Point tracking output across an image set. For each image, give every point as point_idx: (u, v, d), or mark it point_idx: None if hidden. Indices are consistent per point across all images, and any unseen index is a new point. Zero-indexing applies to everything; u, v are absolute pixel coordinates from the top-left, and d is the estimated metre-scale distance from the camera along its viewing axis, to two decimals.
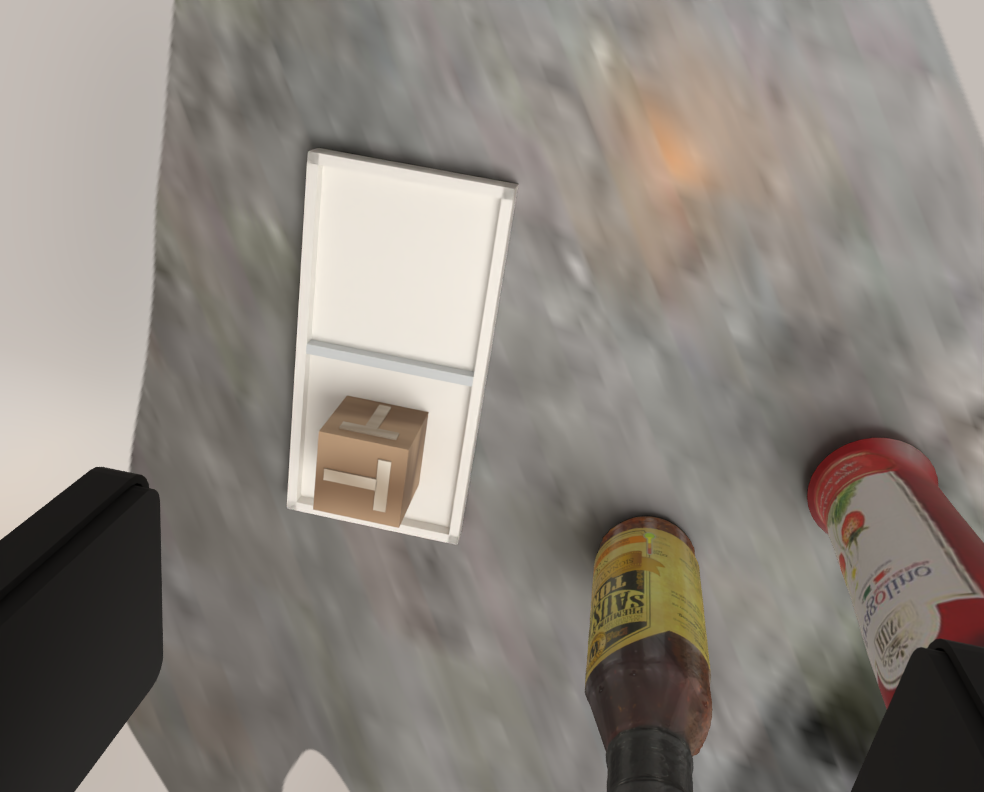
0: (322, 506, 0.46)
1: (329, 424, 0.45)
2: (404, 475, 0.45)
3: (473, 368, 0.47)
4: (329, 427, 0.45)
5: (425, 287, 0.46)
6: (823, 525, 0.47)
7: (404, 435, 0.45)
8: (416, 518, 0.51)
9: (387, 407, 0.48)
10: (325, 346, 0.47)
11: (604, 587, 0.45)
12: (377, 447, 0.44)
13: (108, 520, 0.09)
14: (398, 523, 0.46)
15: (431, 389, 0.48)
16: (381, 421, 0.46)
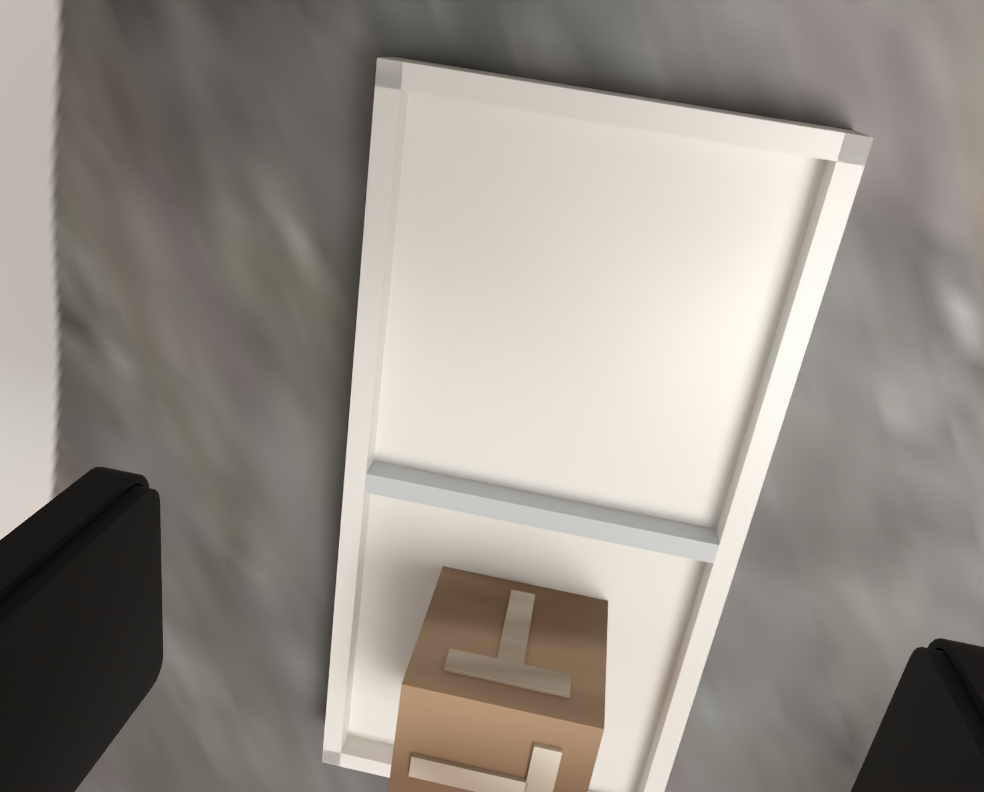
0: None
1: (421, 658, 0.21)
2: (589, 776, 0.20)
3: (711, 522, 0.23)
4: (421, 670, 0.21)
5: (623, 359, 0.21)
6: None
7: (582, 679, 0.21)
8: None
9: (528, 596, 0.24)
10: (404, 477, 0.23)
11: None
12: (533, 720, 0.20)
13: (108, 520, 0.09)
14: None
15: (617, 559, 0.24)
16: (526, 640, 0.22)
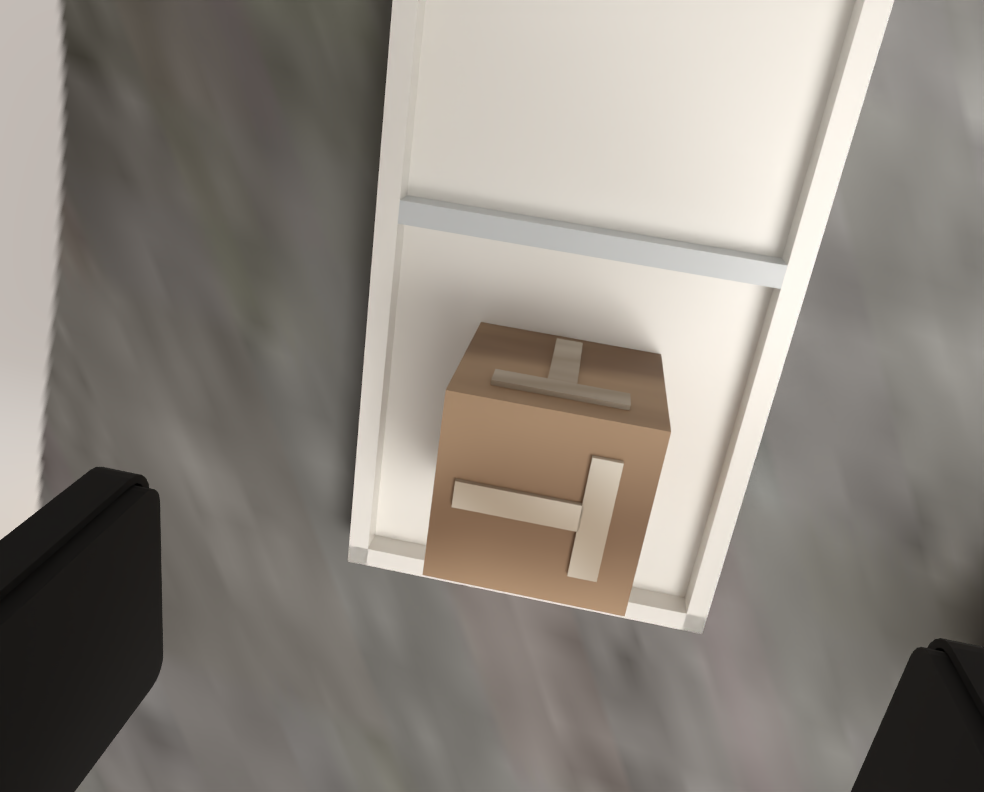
0: (445, 568, 0.20)
1: (465, 375, 0.19)
2: (652, 495, 0.18)
3: (777, 249, 0.21)
4: (466, 382, 0.19)
5: (683, 51, 0.19)
6: None
7: (641, 399, 0.19)
8: None
9: (576, 343, 0.22)
10: (442, 205, 0.21)
11: None
12: (592, 426, 0.18)
13: (108, 520, 0.09)
14: (624, 606, 0.20)
15: (672, 302, 0.22)
16: (577, 370, 0.20)
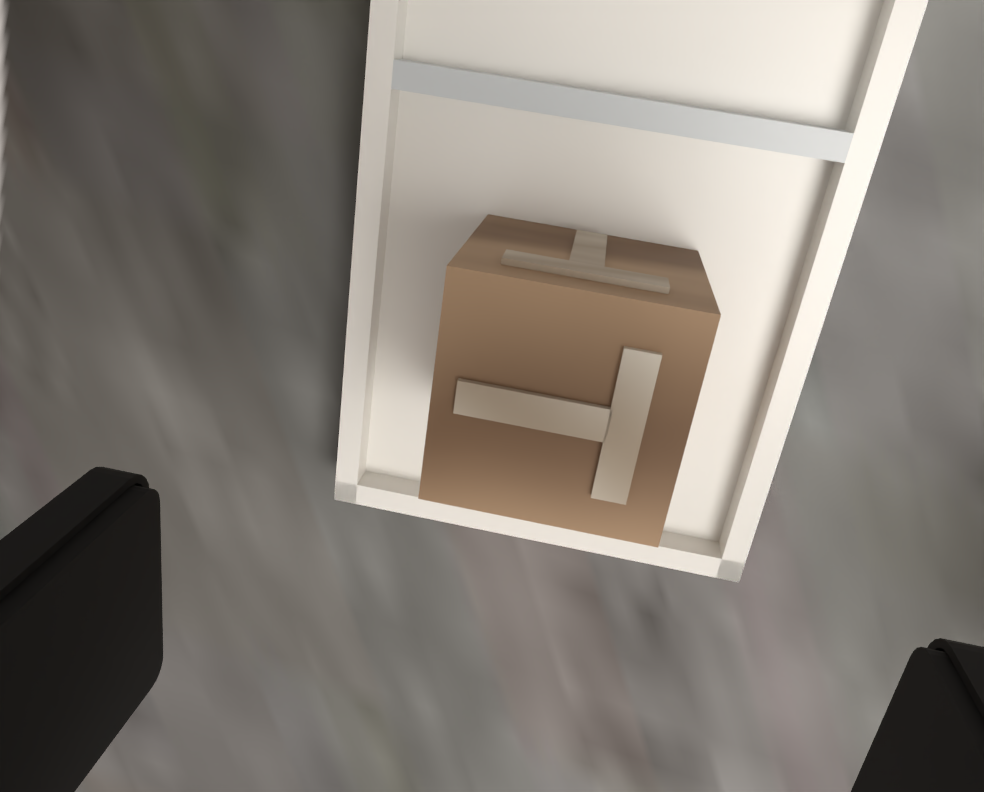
0: (445, 490, 0.17)
1: (470, 255, 0.16)
2: (696, 395, 0.15)
3: (839, 119, 0.18)
4: (471, 260, 0.15)
5: None
6: None
7: (681, 286, 0.16)
8: None
9: (599, 234, 0.19)
10: (443, 67, 0.18)
11: None
12: (624, 309, 0.15)
13: (108, 520, 0.09)
14: (658, 535, 0.17)
15: (713, 187, 0.19)
16: (604, 256, 0.17)
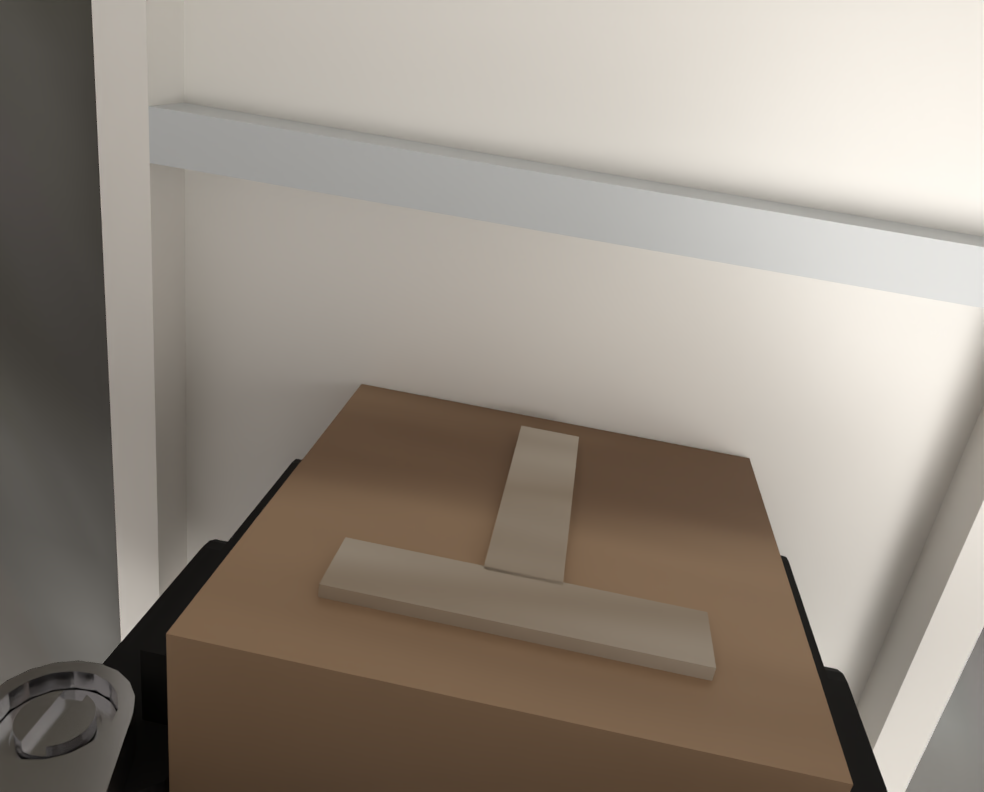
0: None
1: (255, 563, 0.07)
2: None
3: None
4: (247, 594, 0.07)
5: None
6: None
7: (736, 625, 0.07)
8: None
9: (563, 439, 0.10)
10: (250, 120, 0.09)
11: None
12: (605, 752, 0.06)
13: None
14: None
15: (781, 347, 0.10)
16: (566, 526, 0.08)
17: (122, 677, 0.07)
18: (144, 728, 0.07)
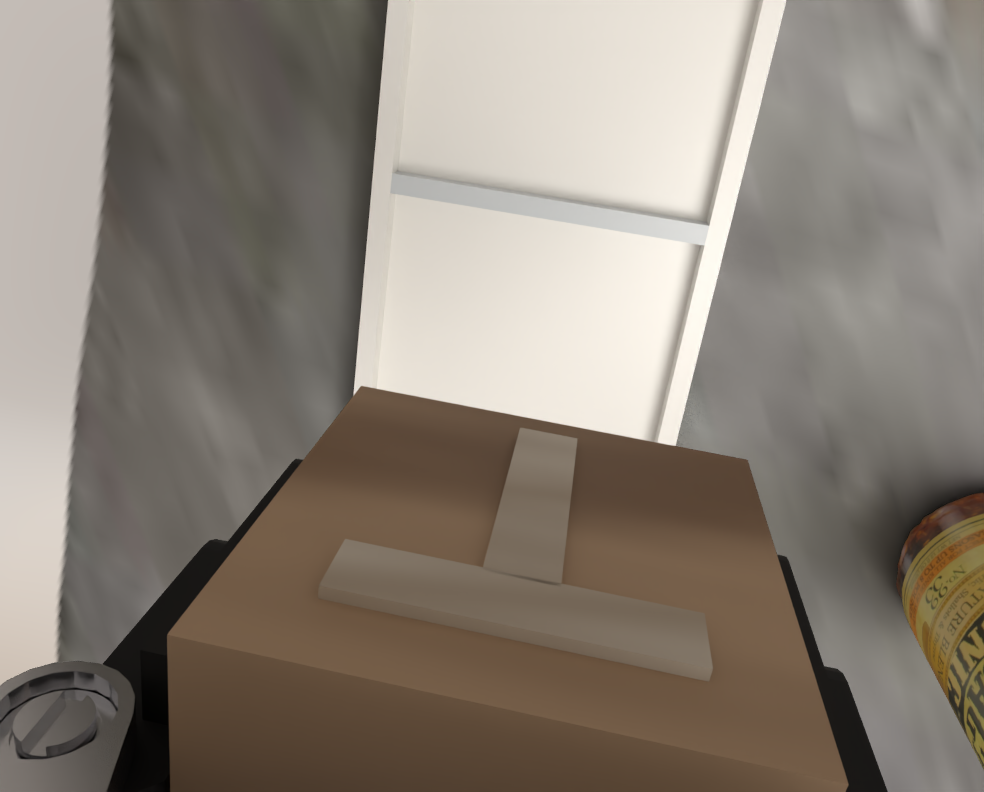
0: None
1: (255, 565, 0.07)
2: None
3: (702, 214, 0.25)
4: (248, 595, 0.07)
5: (622, 51, 0.24)
6: None
7: (734, 627, 0.07)
8: None
9: (562, 441, 0.10)
10: (426, 178, 0.25)
11: None
12: (602, 753, 0.06)
13: None
14: None
15: (618, 260, 0.26)
16: (564, 528, 0.08)
17: (123, 677, 0.07)
18: (145, 728, 0.07)
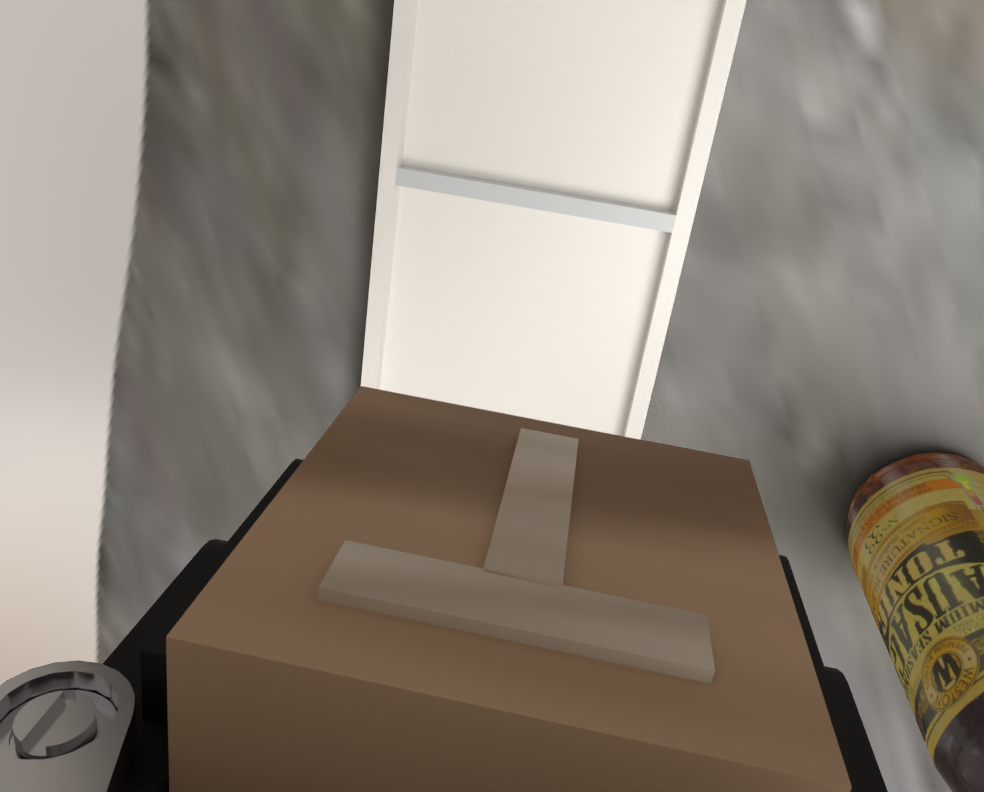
0: None
1: (255, 566, 0.07)
2: None
3: (671, 205, 0.29)
4: (247, 596, 0.07)
5: (599, 60, 0.27)
6: None
7: (736, 629, 0.07)
8: None
9: (563, 441, 0.10)
10: (427, 172, 0.29)
11: (914, 561, 0.26)
12: (604, 755, 0.06)
13: None
14: None
15: (597, 245, 0.29)
16: (565, 528, 0.08)
17: (122, 677, 0.07)
18: (144, 728, 0.07)
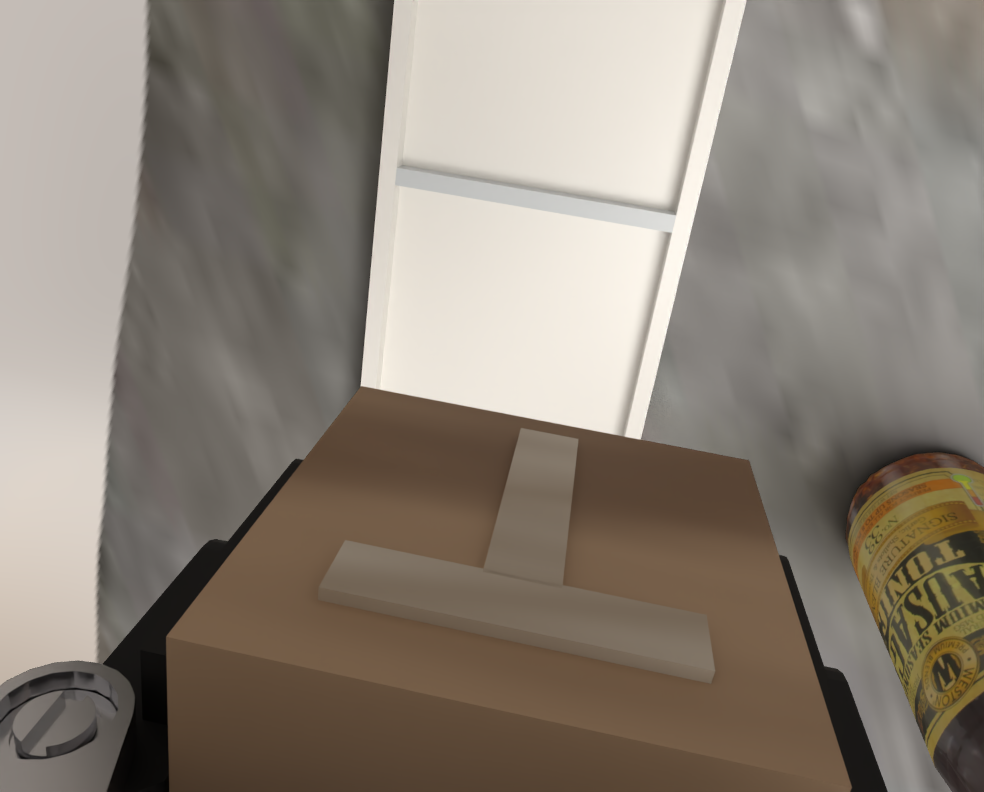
0: None
1: (255, 566, 0.07)
2: None
3: (671, 205, 0.29)
4: (247, 596, 0.07)
5: (599, 60, 0.27)
6: None
7: (736, 629, 0.07)
8: None
9: (563, 441, 0.10)
10: (427, 172, 0.29)
11: (914, 561, 0.26)
12: (604, 755, 0.06)
13: None
14: None
15: (597, 245, 0.29)
16: (565, 528, 0.08)
17: (122, 677, 0.07)
18: (144, 728, 0.07)
